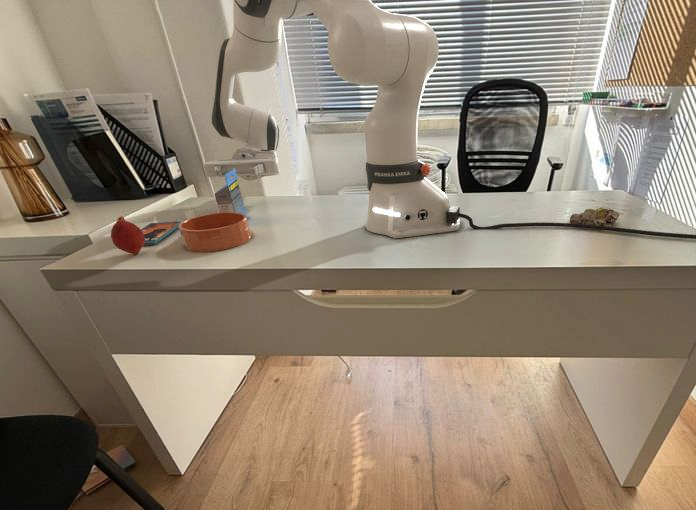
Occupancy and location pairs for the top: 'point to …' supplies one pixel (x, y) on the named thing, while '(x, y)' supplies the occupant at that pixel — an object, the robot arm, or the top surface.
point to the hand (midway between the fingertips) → (235, 172)
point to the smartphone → (158, 231)
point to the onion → (127, 236)
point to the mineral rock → (596, 217)
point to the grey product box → (230, 195)
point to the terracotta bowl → (215, 231)
